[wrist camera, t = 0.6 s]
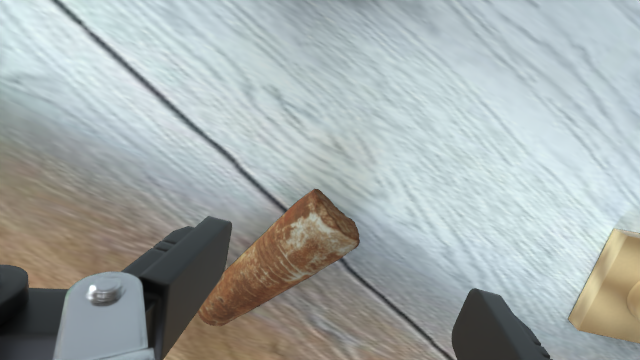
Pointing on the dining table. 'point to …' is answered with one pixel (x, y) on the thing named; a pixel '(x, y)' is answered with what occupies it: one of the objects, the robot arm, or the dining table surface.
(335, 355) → the dining table surface
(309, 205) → the brown piece
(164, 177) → the dining table surface
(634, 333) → the peg stand
